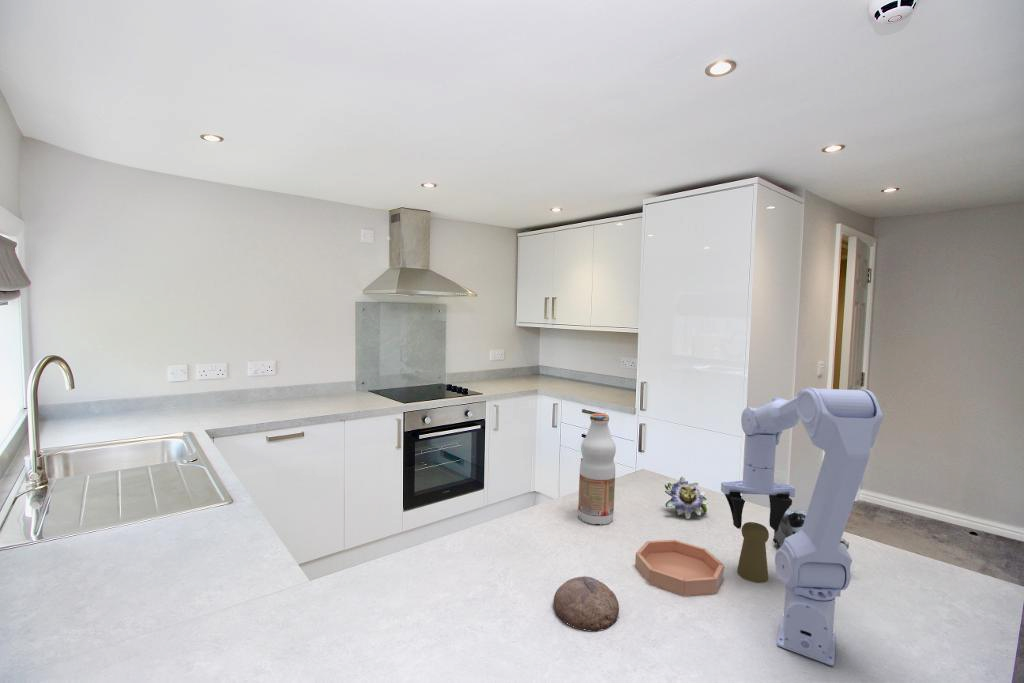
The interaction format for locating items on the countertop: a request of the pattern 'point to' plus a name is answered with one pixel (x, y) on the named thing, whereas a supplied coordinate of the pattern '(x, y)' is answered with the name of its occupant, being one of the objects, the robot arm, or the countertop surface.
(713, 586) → the octagonal tray
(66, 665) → the countertop surface
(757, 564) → the olive knobbed peg
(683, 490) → the passion flower
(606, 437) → the fruit juice
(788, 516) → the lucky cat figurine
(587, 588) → the decorative stone
